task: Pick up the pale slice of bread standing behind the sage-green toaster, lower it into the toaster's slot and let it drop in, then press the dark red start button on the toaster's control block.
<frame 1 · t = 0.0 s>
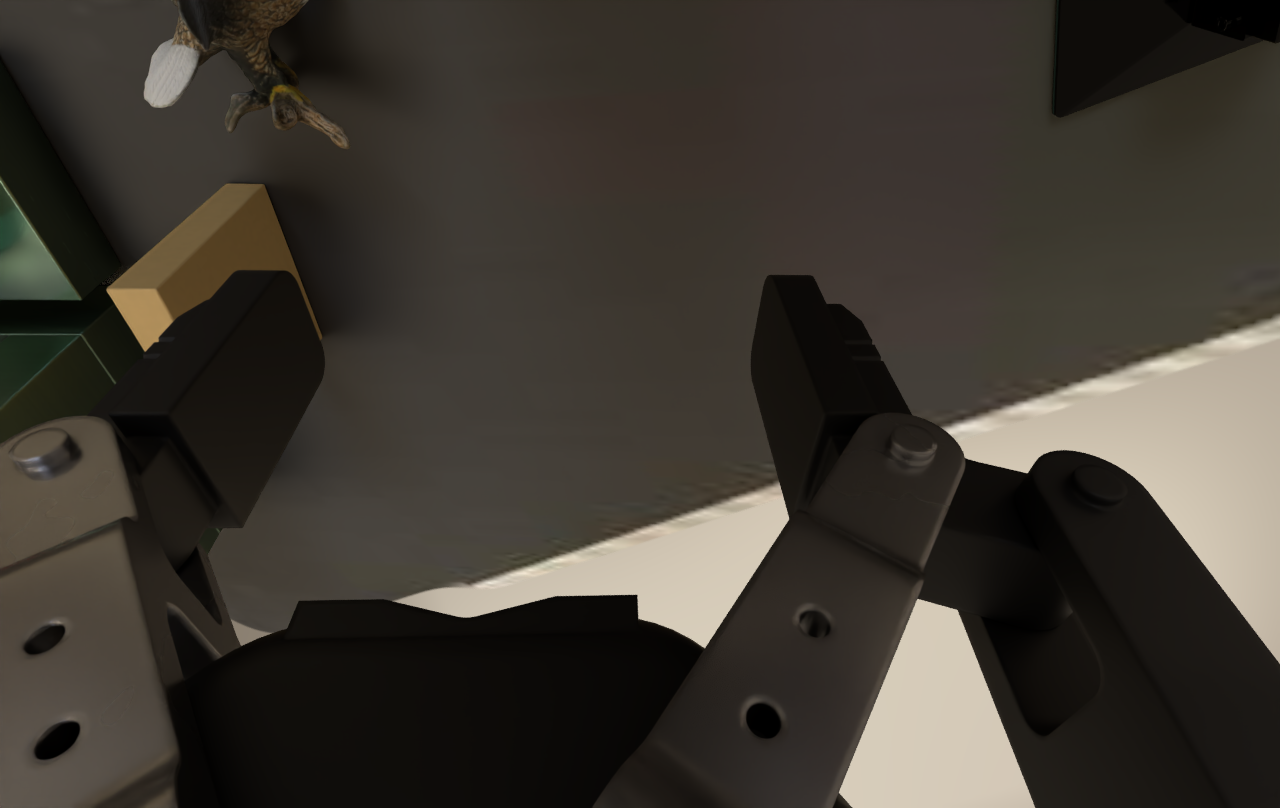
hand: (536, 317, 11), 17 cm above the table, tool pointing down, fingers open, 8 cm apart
toaster: (114, 396, 34), on the table
toast: (279, 267, 29), on the table
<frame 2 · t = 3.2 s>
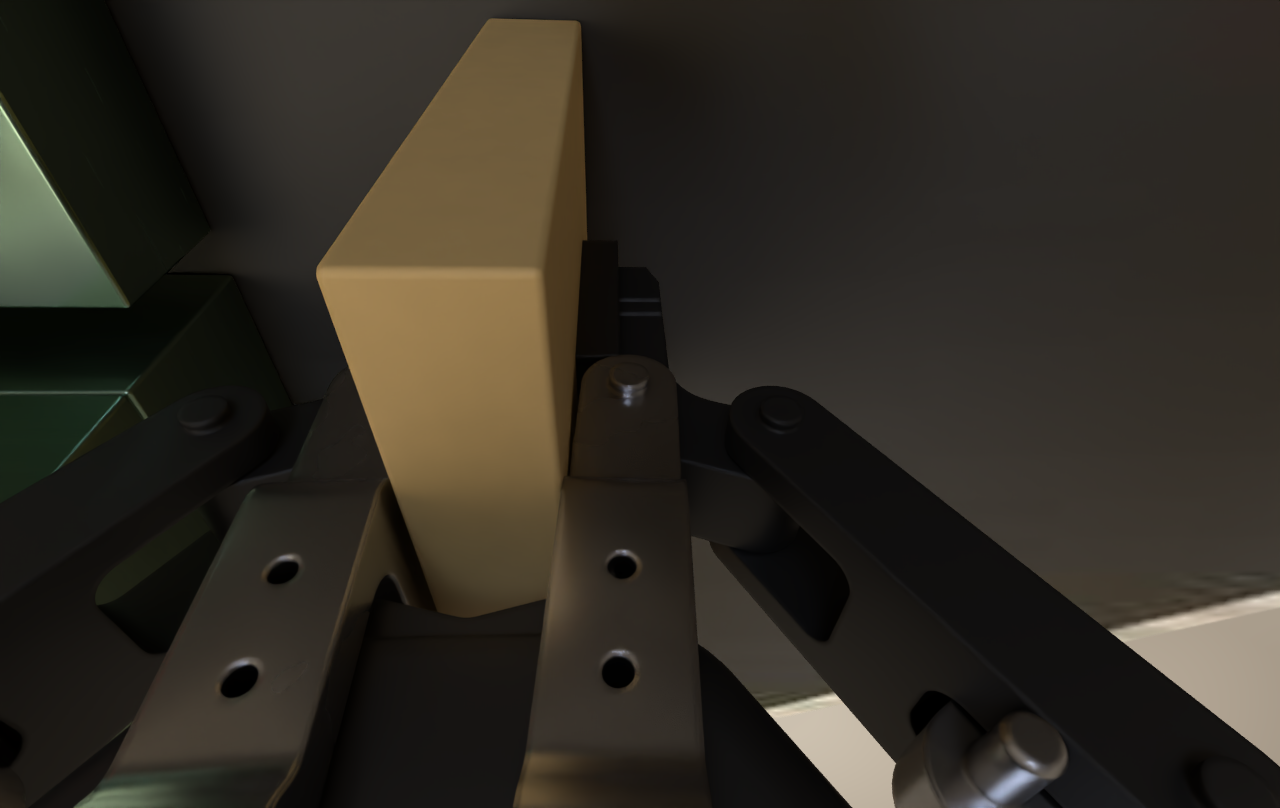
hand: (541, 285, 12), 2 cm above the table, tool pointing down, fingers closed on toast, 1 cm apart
toaster: (172, 484, 18), on the table
toast: (549, 235, 13), on the table, touching gripper
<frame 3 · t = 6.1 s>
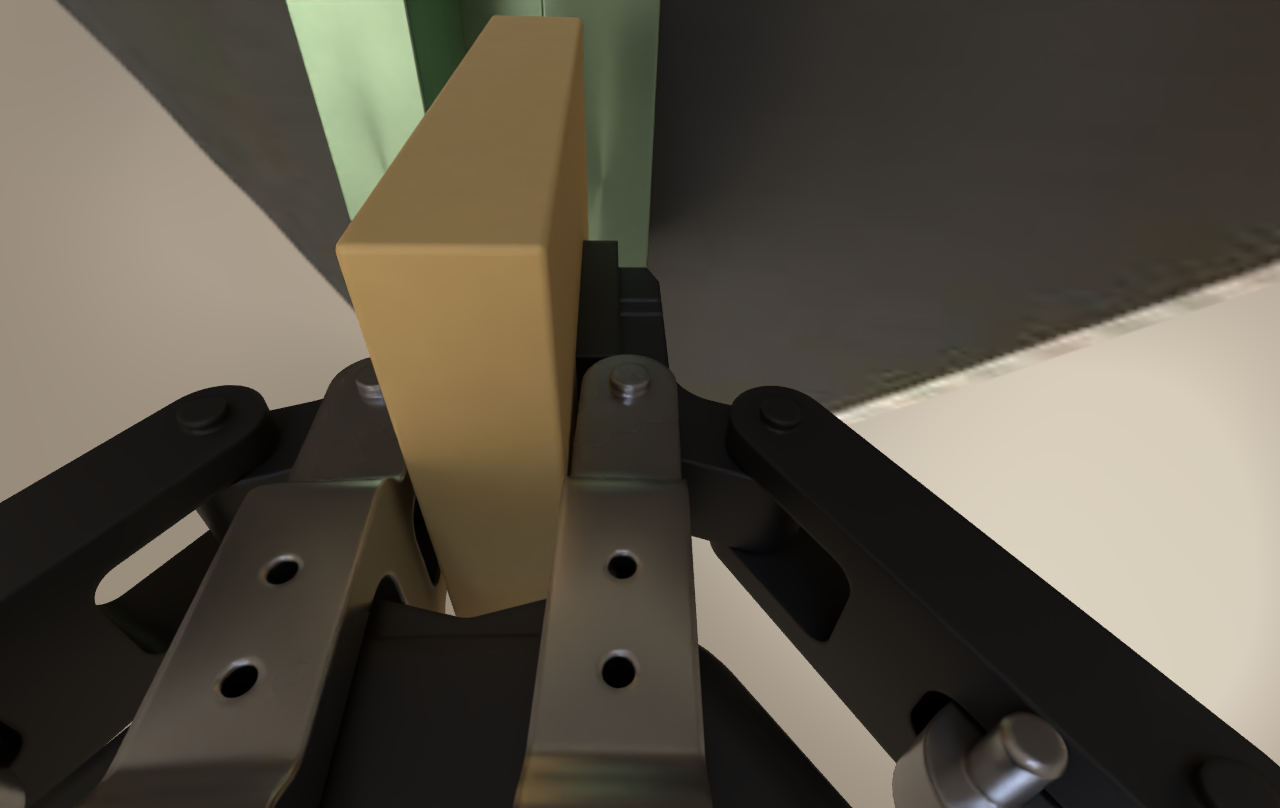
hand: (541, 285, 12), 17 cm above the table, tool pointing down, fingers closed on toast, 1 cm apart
toaster: (529, 78, 25), on the table
toast: (551, 227, 14), point 15 cm above the table, touching gripper
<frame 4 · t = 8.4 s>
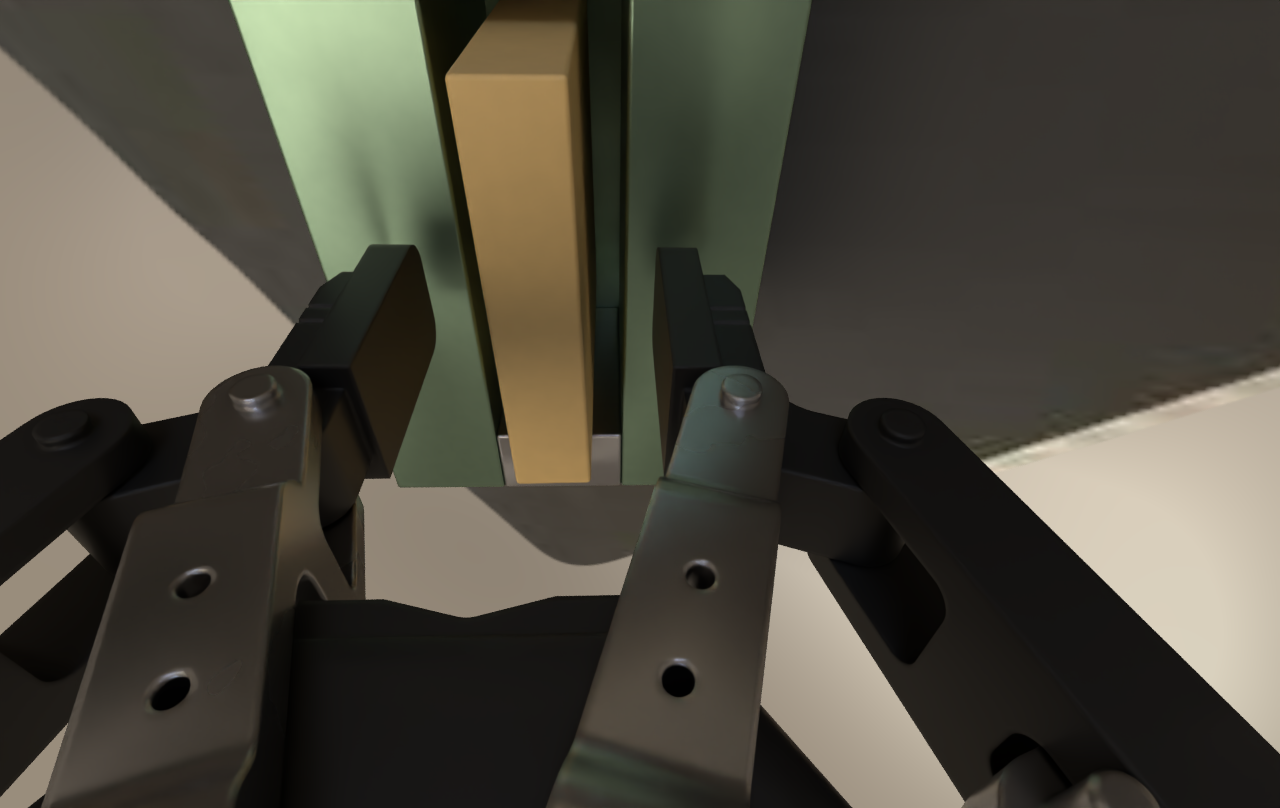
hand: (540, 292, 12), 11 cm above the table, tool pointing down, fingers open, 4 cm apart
toaster: (568, 106, 20), on the table
toast: (562, 151, 17), point 4 cm above the table, touching toaster
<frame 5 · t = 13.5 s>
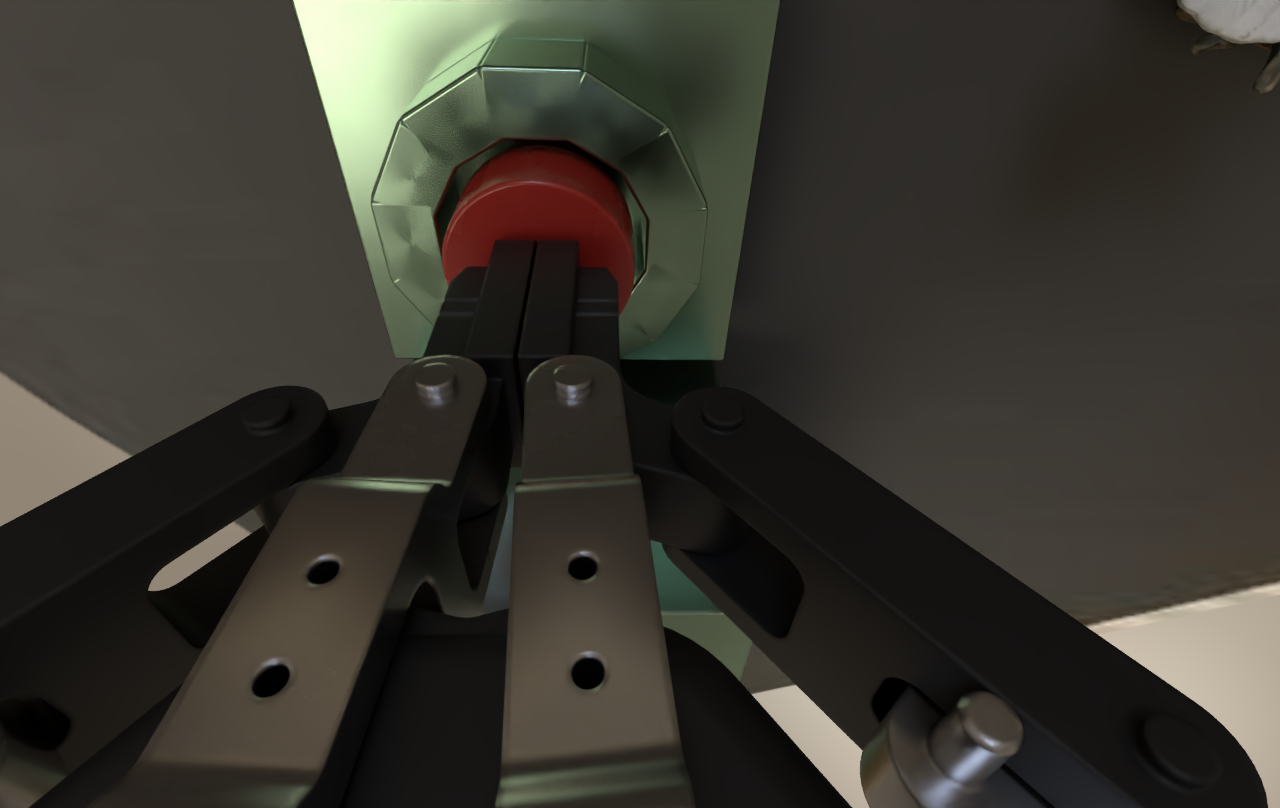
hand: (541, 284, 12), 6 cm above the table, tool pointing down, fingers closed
toaster: (575, 473, 25), on the table
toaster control: (559, 153, 16), on the table
start button: (543, 251, 12), point 5 cm above the table, slide at -0.1 cm, touching gripper
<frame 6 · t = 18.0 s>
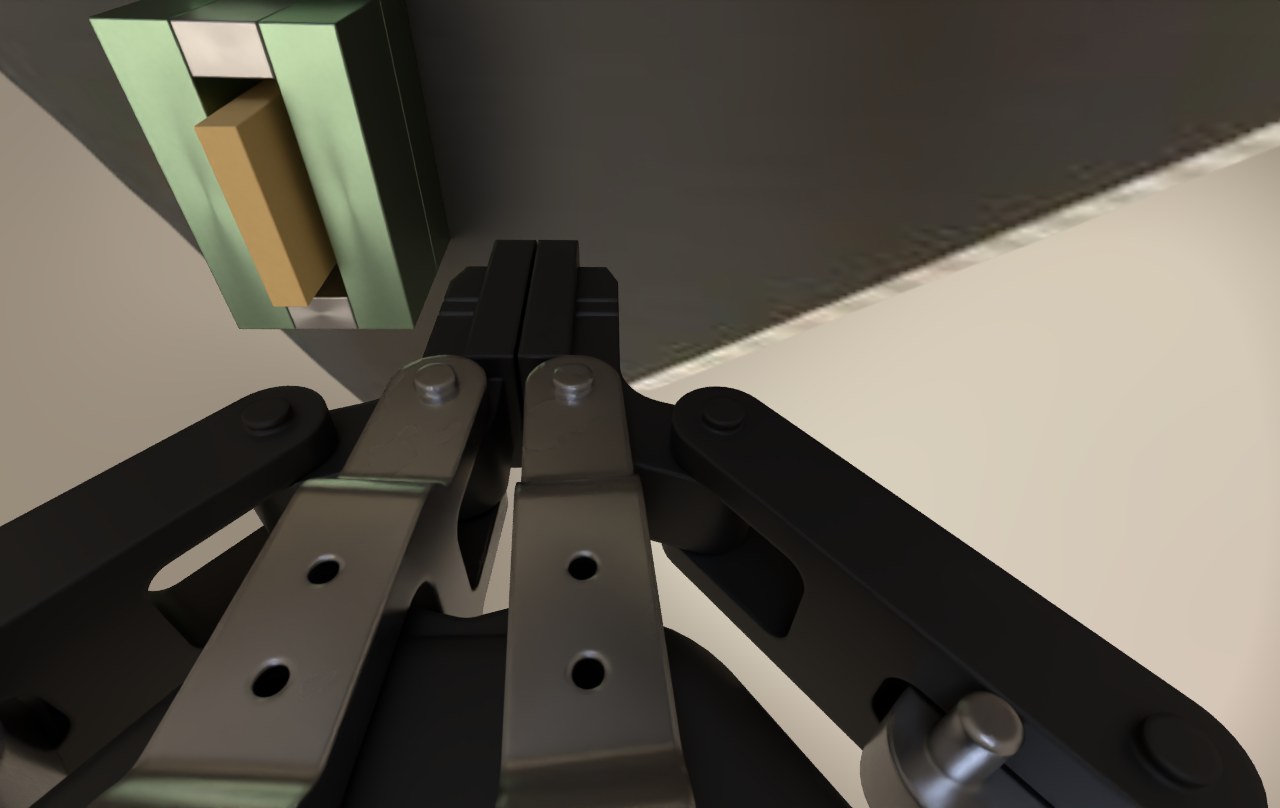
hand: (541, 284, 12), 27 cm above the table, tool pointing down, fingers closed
toaster: (348, 126, 35), on the table
toast: (325, 152, 32), point 4 cm above the table, touching toaster
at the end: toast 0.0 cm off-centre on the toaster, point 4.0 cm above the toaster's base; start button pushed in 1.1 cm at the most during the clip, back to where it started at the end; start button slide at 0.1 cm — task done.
